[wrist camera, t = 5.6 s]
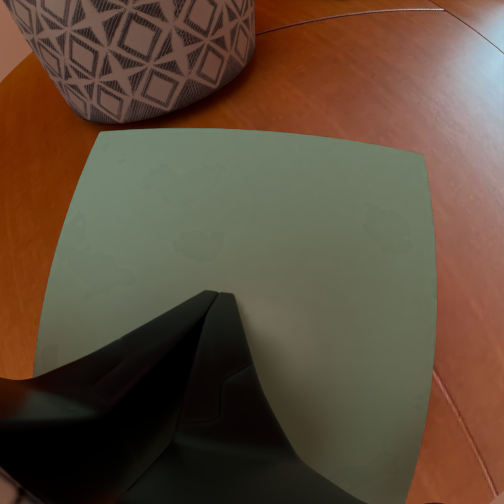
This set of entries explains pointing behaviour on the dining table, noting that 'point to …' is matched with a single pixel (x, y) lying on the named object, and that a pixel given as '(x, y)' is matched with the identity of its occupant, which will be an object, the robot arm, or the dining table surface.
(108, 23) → the planter
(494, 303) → the dining table surface
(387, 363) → the lid
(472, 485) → the dining table surface
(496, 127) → the dining table surface
